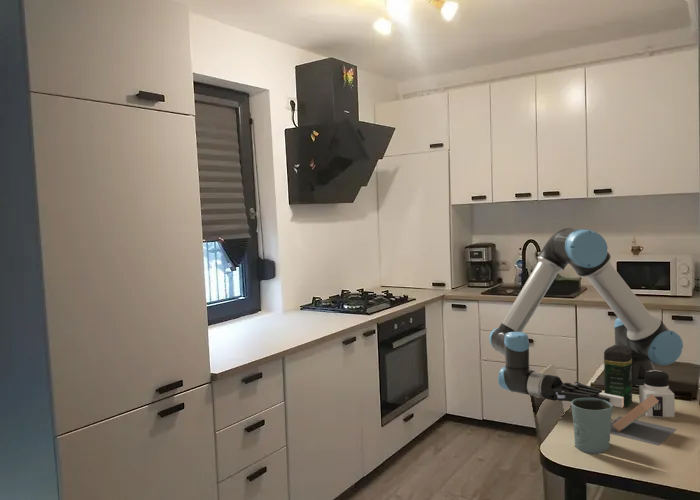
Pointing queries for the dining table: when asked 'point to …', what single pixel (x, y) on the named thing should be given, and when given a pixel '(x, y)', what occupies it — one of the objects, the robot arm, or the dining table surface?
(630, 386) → the coffee jar
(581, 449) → the teal planter pot
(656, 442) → the mat
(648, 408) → the salmon orange rectangular block
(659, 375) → the container
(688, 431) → the dining table surface
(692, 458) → the dining table surface
